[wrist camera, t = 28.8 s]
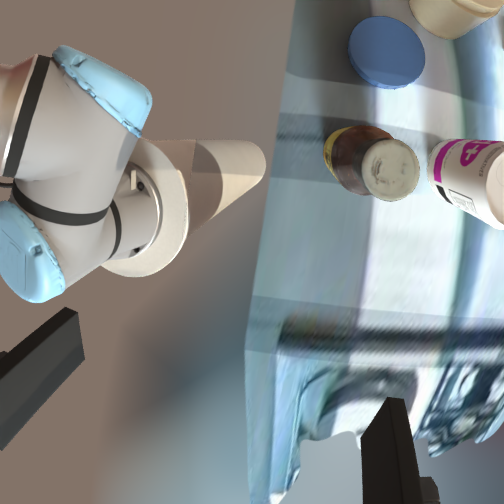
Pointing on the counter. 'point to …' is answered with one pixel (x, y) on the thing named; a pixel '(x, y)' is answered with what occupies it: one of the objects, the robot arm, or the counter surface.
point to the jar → (453, 15)
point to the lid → (386, 52)
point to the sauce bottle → (371, 162)
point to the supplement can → (470, 177)
